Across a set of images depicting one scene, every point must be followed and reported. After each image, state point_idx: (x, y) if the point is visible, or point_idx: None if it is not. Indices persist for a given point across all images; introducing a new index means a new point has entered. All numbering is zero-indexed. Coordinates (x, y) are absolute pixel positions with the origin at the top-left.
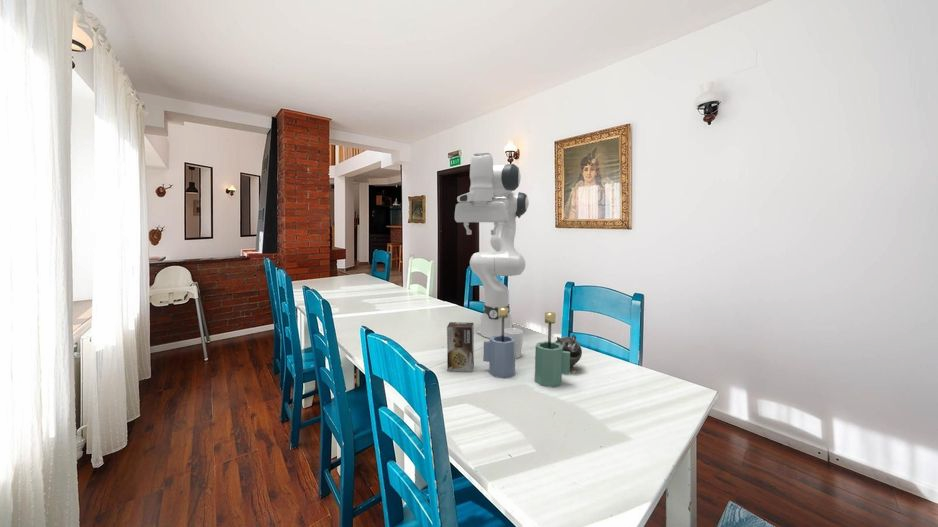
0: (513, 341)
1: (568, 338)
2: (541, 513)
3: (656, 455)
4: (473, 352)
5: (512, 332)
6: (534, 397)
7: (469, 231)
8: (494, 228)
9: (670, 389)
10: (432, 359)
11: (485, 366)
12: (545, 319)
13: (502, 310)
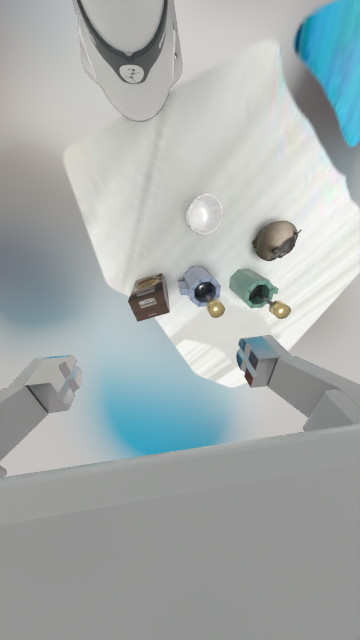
0: (219, 296)
1: (288, 241)
2: (233, 385)
3: (287, 344)
4: (164, 284)
5: (200, 197)
6: (229, 314)
7: (67, 398)
8: (287, 396)
9: (347, 255)
10: (107, 274)
11: (174, 269)
12: (272, 313)
13: (216, 316)
